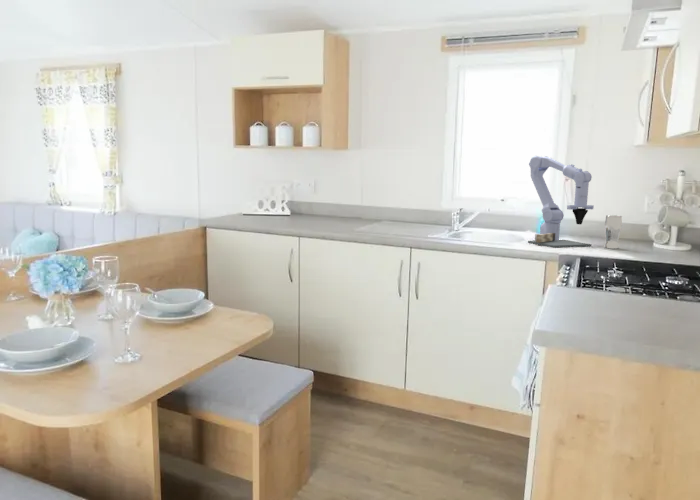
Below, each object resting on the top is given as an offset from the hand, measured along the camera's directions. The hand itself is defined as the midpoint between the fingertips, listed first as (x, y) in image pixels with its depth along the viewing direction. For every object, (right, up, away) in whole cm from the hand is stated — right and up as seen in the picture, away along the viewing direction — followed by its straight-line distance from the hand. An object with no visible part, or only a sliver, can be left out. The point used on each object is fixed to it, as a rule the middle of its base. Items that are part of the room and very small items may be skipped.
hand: (579, 224), depth 269 cm
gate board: (-12, -10, -5) cm, 16 cm away
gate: (-18, -8, -4) cm, 20 cm away
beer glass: (+9, -12, -14) cm, 21 cm away
